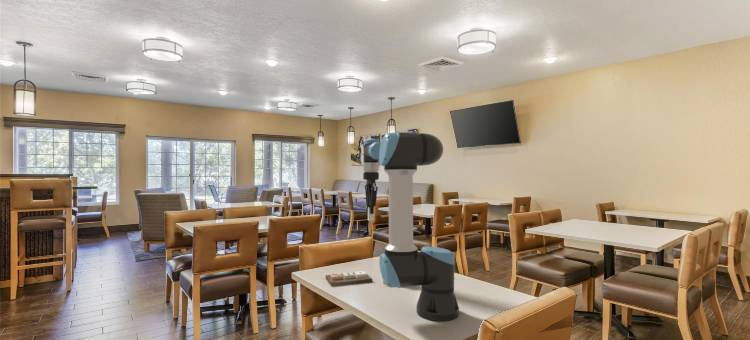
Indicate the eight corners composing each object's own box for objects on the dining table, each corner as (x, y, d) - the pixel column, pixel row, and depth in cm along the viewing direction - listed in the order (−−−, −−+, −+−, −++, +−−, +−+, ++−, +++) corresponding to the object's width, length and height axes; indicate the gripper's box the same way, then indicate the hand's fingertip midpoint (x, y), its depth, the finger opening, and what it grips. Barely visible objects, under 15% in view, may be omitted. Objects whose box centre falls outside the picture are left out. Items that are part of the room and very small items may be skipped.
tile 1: (366, 279, 173) (366, 273, 173) (357, 280, 172) (357, 274, 172) (363, 276, 177) (363, 270, 177) (354, 277, 176) (354, 271, 176)
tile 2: (354, 280, 171) (354, 274, 171) (344, 281, 170) (345, 275, 170) (351, 277, 176) (351, 271, 176) (342, 278, 174) (342, 272, 174)
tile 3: (342, 281, 169) (342, 275, 169) (332, 282, 168) (332, 276, 168) (339, 278, 174) (339, 272, 174) (330, 279, 172) (330, 273, 172)
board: (372, 281, 170) (372, 278, 170) (331, 286, 164) (331, 282, 164) (364, 274, 182) (364, 271, 181) (325, 278, 175) (325, 275, 175)
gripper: (383, 171, 176) (382, 221, 176) (374, 171, 188) (373, 218, 189) (367, 171, 173) (367, 222, 174) (359, 171, 186) (359, 218, 186)
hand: (370, 220), depth 181 cm, fingers closed
